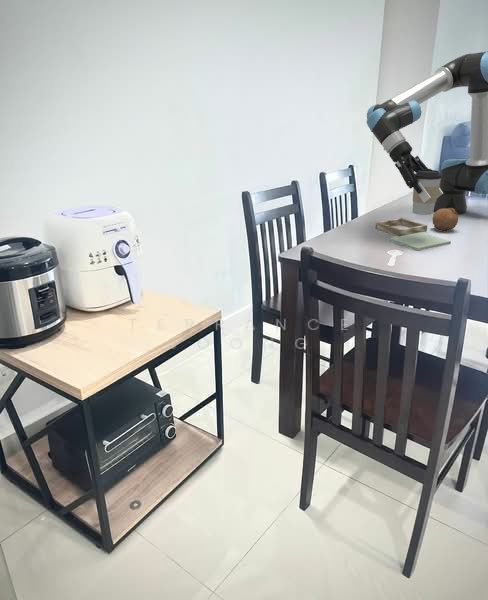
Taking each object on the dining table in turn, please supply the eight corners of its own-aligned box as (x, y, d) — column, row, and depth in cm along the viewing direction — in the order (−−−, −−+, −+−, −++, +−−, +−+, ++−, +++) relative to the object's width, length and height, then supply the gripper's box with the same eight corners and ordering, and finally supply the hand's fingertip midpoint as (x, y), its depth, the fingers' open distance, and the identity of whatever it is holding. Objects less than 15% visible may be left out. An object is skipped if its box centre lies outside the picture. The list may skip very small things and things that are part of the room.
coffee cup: (438, 216, 153) (445, 172, 147) (411, 215, 155) (416, 171, 149) (433, 210, 161) (439, 168, 155) (407, 209, 163) (413, 168, 157)
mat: (421, 234, 172) (421, 232, 171) (450, 243, 160) (450, 241, 160) (389, 240, 166) (389, 238, 165) (417, 250, 154) (418, 248, 154)
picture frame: (401, 223, 187) (401, 218, 186) (426, 231, 175) (427, 225, 174) (375, 228, 182) (375, 222, 180) (399, 236, 170) (400, 230, 169)
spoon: (381, 266, 142) (382, 264, 142) (388, 249, 157) (388, 248, 157) (399, 268, 140) (399, 266, 140) (404, 251, 155) (404, 249, 155)
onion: (451, 236, 178) (466, 215, 174) (443, 235, 171) (459, 213, 166) (431, 224, 183) (446, 203, 178) (423, 223, 176) (438, 201, 171)
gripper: (404, 152, 167) (438, 199, 163) (373, 157, 154) (410, 209, 150) (419, 137, 161) (455, 186, 158) (389, 142, 148) (428, 196, 144)
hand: (433, 197), depth 154 cm, fingers closed on coffee cup, 9 cm apart
